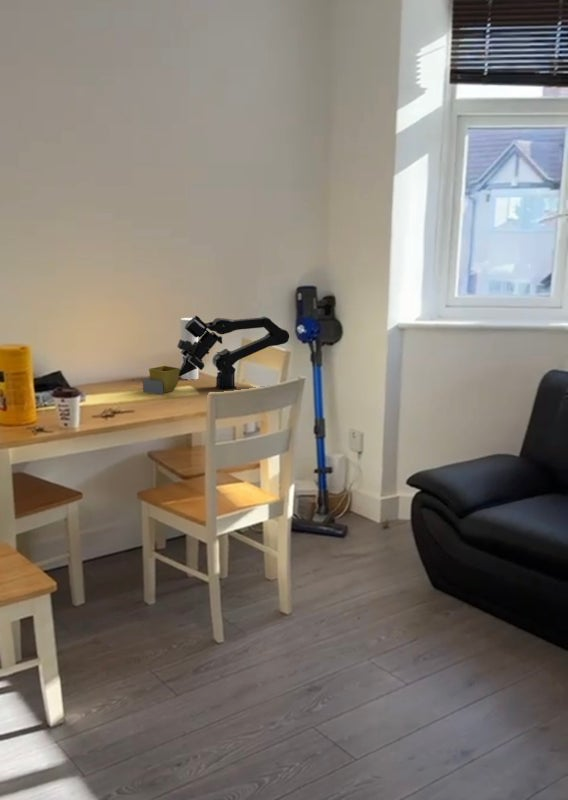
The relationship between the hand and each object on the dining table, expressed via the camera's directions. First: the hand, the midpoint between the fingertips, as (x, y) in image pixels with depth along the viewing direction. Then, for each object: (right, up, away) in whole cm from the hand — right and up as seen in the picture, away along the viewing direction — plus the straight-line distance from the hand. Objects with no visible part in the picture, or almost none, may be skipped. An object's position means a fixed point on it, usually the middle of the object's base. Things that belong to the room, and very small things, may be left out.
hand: (178, 375), depth 302 cm
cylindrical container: (+1, 0, +24) cm, 24 cm away
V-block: (-10, -6, -2) cm, 12 cm away
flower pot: (-5, -6, 0) cm, 8 cm away
